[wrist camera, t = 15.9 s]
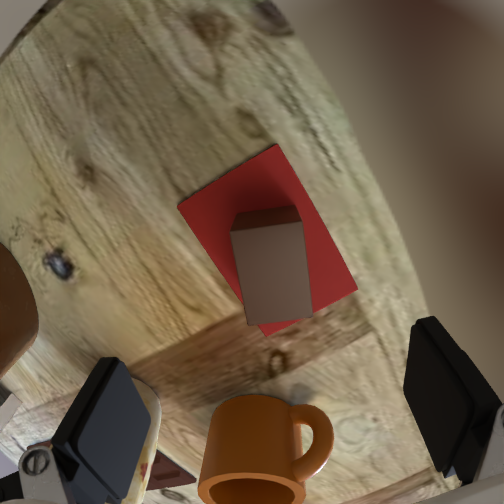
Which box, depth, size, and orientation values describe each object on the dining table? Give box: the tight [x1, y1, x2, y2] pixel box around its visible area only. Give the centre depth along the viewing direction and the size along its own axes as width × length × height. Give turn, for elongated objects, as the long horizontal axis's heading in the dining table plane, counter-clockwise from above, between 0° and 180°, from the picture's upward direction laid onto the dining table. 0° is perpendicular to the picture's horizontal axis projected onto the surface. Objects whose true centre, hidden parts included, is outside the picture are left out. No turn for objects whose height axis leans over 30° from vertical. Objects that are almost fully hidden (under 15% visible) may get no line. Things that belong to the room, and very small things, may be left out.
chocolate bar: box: [27, 440, 197, 491], centre depth 34 cm, size 27×14×1 cm, turn 124°
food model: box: [49, 378, 162, 504], centre depth 19 cm, size 10×7×20 cm
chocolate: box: [229, 205, 313, 326], centre depth 20 cm, size 6×4×4 cm, turn 10°
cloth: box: [177, 144, 358, 337], centre depth 23 cm, size 12×8×1 cm, turn 32°
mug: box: [198, 395, 334, 504], centre depth 24 cm, size 9×12×9 cm
